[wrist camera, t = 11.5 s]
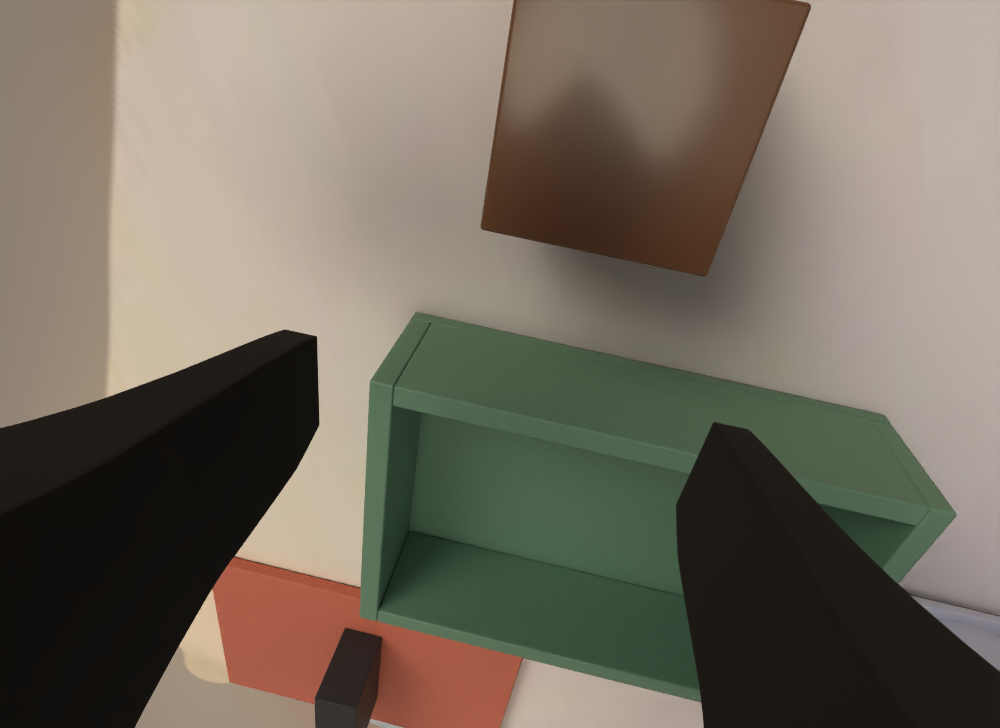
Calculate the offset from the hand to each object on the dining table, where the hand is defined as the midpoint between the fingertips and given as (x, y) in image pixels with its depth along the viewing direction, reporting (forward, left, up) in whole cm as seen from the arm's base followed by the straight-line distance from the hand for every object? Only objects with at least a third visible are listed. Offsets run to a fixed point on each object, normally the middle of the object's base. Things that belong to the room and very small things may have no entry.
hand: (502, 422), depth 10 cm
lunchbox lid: (+5, +24, -9) cm, 26 cm away
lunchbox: (-4, +8, -9) cm, 13 cm away
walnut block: (-1, -5, -9) cm, 10 cm away
